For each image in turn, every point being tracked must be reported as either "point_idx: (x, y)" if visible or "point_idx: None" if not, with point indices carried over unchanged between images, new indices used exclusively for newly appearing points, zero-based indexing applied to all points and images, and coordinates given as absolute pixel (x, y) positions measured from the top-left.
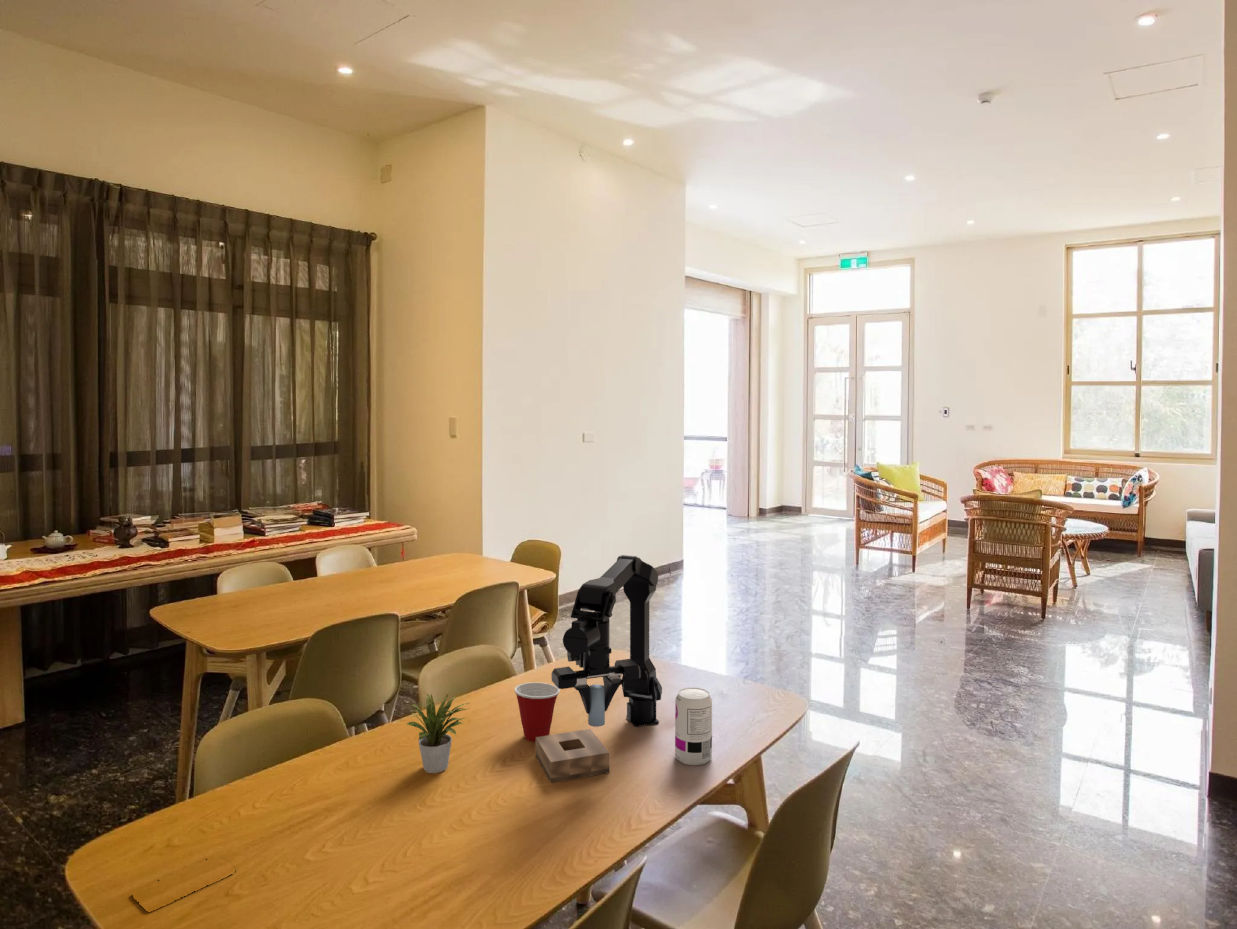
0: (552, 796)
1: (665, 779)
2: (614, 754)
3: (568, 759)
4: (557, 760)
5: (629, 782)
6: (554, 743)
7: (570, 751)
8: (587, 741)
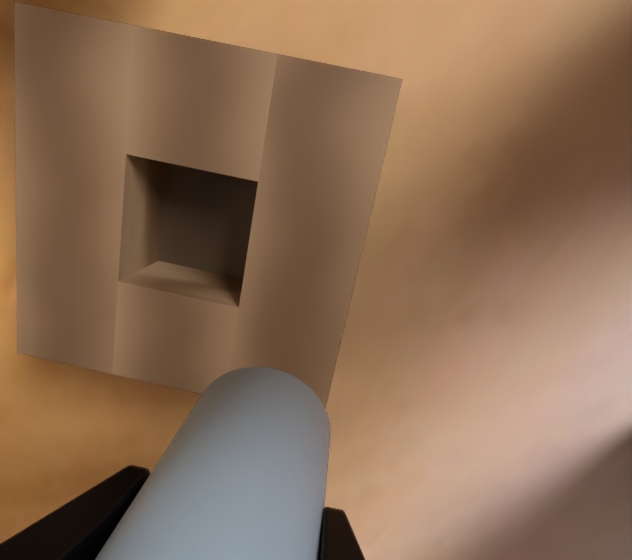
0: (59, 400)
1: (483, 517)
2: (449, 235)
3: (106, 372)
4: (52, 354)
5: (353, 466)
6: (98, 163)
7: (146, 304)
8: (286, 244)
